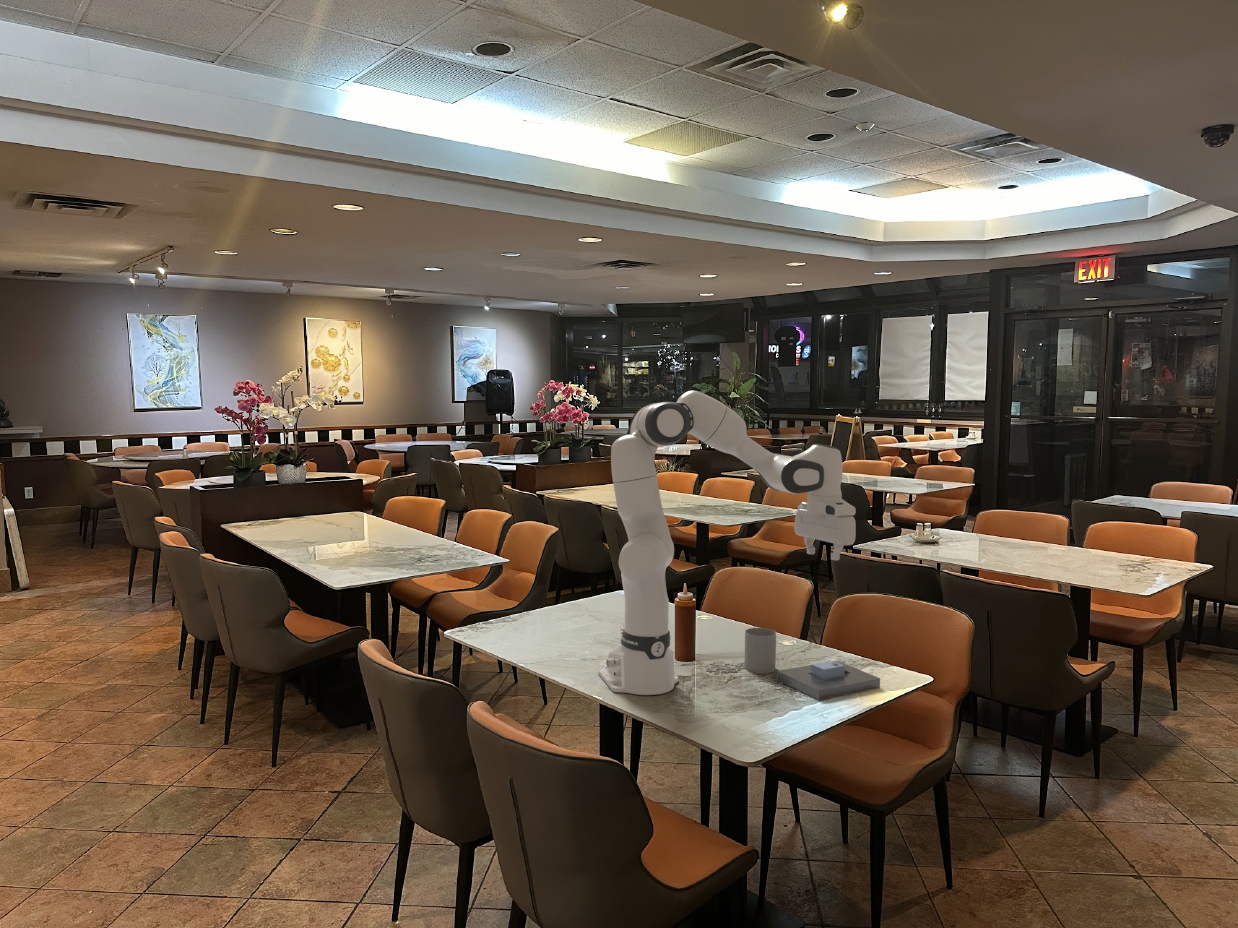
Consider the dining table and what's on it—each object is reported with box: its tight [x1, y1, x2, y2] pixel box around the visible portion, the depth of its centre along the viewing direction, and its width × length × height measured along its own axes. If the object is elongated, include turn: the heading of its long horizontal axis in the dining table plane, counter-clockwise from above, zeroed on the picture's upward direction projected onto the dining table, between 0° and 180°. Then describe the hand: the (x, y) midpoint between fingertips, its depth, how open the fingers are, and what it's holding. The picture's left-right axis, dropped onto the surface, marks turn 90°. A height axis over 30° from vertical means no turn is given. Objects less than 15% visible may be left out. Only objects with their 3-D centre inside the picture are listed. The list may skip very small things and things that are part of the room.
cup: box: [743, 627, 777, 674], centre depth 220 cm, size 8×8×10 cm
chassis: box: [776, 660, 881, 701], centre depth 208 cm, size 16×20×2 cm
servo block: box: [811, 658, 845, 681], centre depth 208 cm, size 4×8×6 cm, turn 118°
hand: (822, 556), depth 216 cm, fingers open, 8 cm apart
